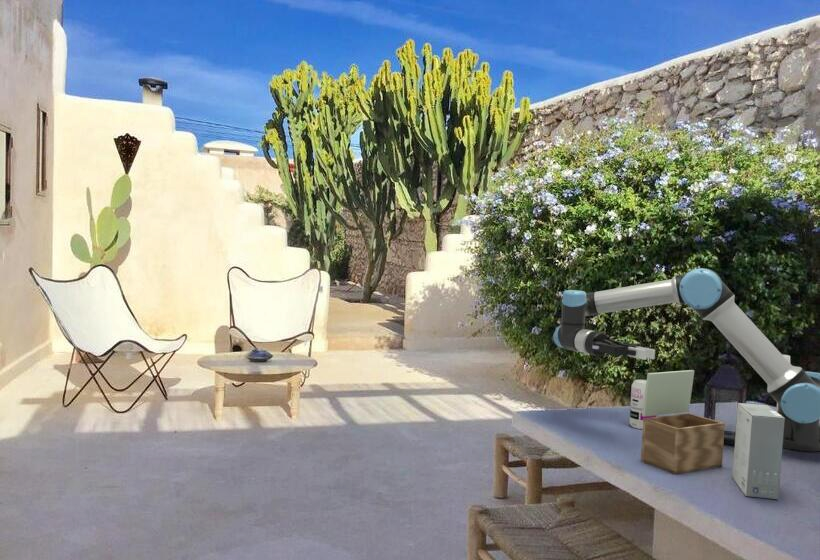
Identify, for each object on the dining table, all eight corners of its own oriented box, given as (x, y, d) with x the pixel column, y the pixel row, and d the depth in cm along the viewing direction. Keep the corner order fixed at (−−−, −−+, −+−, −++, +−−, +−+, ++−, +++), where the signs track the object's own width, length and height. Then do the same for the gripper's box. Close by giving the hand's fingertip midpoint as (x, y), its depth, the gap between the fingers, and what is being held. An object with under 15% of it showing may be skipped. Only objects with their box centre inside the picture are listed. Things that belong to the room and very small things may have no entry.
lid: (688, 411, 213) (686, 410, 214) (694, 370, 212) (692, 370, 212) (644, 416, 205) (641, 415, 205) (649, 374, 203) (647, 373, 204)
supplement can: (658, 426, 246) (660, 381, 245) (651, 431, 239) (654, 385, 238) (633, 422, 250) (636, 378, 249) (626, 427, 243) (628, 381, 242)
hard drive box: (779, 500, 178) (785, 418, 177) (745, 497, 179) (751, 415, 178) (762, 480, 193) (768, 404, 192) (731, 477, 195) (736, 401, 193)
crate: (685, 454, 214) (688, 413, 213) (721, 466, 204) (724, 423, 203) (640, 461, 205) (642, 418, 205) (675, 474, 195) (678, 429, 194)
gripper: (610, 353, 239) (668, 366, 219) (573, 355, 231) (629, 369, 211) (611, 330, 239) (669, 340, 218) (574, 331, 231) (630, 342, 210)
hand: (649, 354), depth 215 cm, fingers open, 3 cm apart
